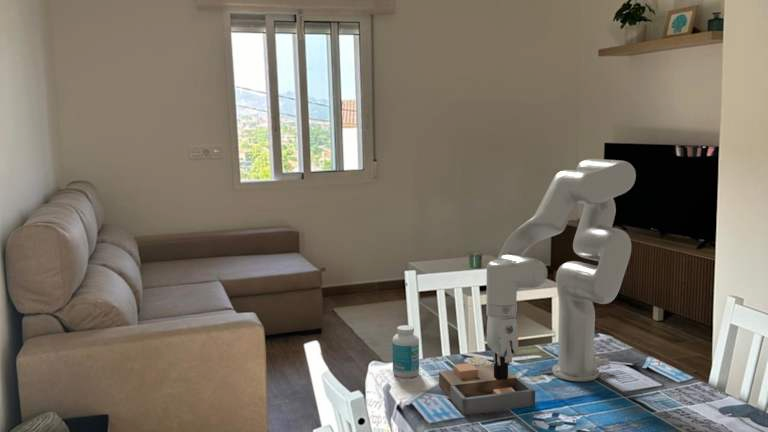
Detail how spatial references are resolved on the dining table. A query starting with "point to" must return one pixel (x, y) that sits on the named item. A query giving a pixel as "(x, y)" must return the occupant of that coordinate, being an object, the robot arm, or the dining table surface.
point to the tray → (494, 400)
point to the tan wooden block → (475, 382)
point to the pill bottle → (405, 352)
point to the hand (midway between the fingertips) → (500, 378)
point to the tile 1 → (465, 370)
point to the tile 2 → (502, 390)
